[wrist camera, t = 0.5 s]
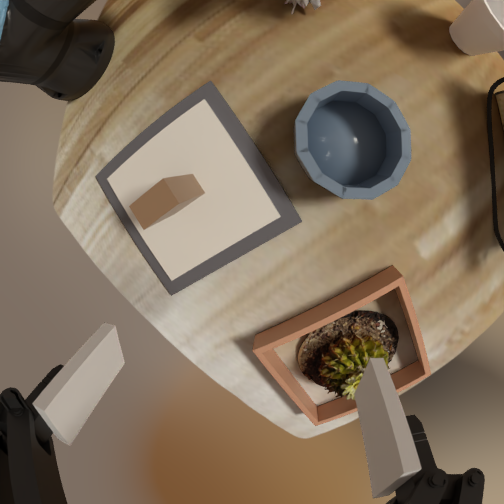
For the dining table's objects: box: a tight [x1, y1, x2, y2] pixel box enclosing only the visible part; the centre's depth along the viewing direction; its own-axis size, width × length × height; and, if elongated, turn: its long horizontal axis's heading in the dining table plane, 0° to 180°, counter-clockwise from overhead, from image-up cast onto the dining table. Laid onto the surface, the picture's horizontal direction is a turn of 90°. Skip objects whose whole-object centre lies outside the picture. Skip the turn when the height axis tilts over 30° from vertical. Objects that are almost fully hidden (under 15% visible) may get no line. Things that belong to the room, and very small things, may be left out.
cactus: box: [298, 311, 399, 401], centre depth 36 cm, size 17×16×10 cm
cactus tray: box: [253, 265, 431, 426], centre depth 38 cm, size 22×23×4 cm
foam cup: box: [449, 0, 504, 56], centre depth 15 cm, size 10×9×13 cm
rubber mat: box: [96, 81, 302, 296], centre depth 35 cm, size 22×22×1 cm
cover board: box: [107, 99, 281, 281], centre depth 30 cm, size 18×18×10 cm
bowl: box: [294, 81, 411, 200], centre depth 28 cm, size 13×13×6 cm
